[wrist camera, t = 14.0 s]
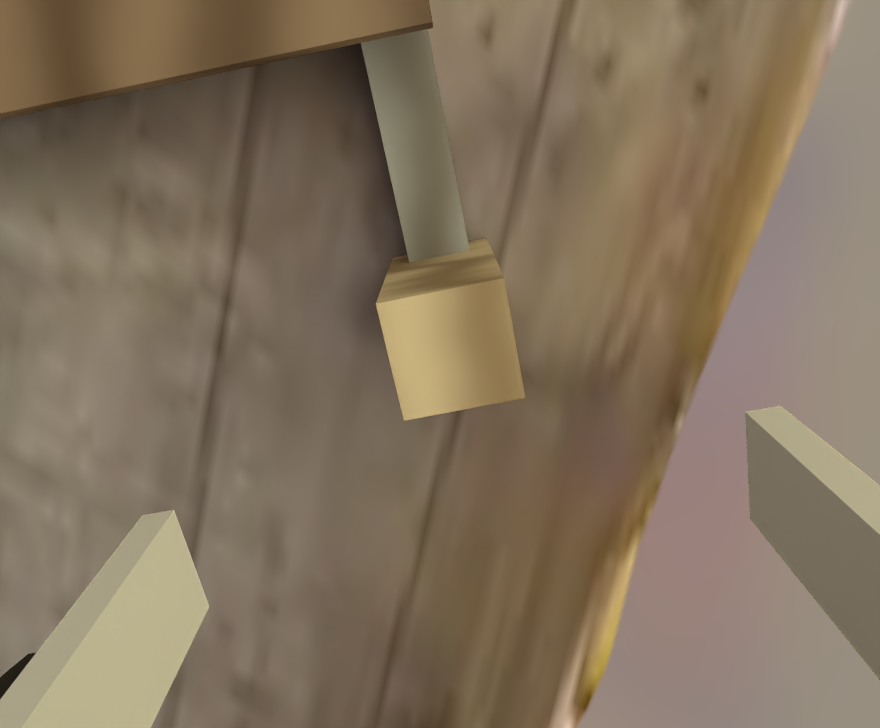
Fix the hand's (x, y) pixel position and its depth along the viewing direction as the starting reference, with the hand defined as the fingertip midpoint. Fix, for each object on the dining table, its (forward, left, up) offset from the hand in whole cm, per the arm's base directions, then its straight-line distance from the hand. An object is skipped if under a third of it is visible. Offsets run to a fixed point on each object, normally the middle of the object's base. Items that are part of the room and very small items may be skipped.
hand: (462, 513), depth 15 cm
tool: (0, +9, -22) cm, 23 cm away
